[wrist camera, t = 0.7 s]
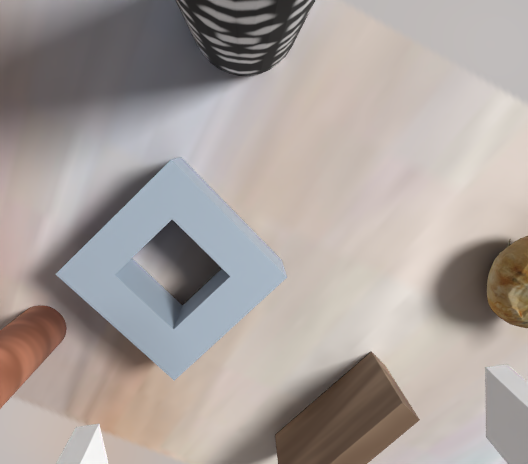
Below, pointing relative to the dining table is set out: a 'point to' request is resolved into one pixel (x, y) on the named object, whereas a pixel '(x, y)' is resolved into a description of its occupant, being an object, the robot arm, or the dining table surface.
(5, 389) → the dowel
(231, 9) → the white-spotted black cylinder
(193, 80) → the dining table surface
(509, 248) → the onion
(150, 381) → the dining table surface
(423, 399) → the dining table surface
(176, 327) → the socket block
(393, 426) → the walnut wall
